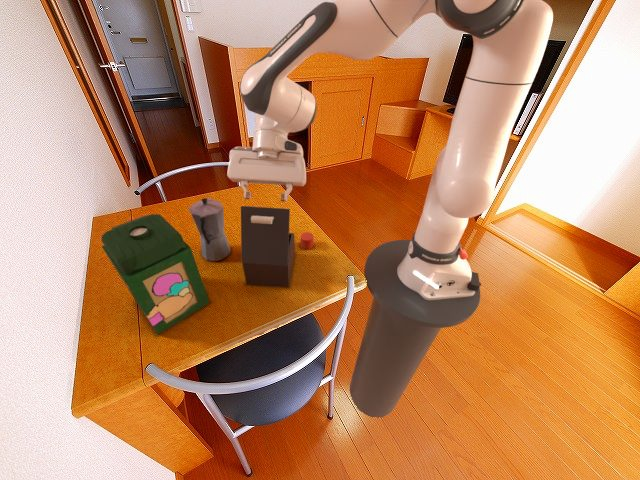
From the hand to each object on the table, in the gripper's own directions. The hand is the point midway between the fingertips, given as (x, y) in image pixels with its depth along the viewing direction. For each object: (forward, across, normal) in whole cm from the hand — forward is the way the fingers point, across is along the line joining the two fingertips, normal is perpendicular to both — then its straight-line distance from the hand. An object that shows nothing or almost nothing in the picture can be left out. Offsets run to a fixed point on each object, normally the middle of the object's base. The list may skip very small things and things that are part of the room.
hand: (265, 200), depth 71 cm
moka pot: (+14, -19, +21) cm, 32 cm away
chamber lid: (+9, 0, +3) cm, 10 cm away
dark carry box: (+18, 0, +17) cm, 25 cm away
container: (+28, -24, +7) cm, 38 cm away
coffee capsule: (+9, +10, +26) cm, 29 cm away
